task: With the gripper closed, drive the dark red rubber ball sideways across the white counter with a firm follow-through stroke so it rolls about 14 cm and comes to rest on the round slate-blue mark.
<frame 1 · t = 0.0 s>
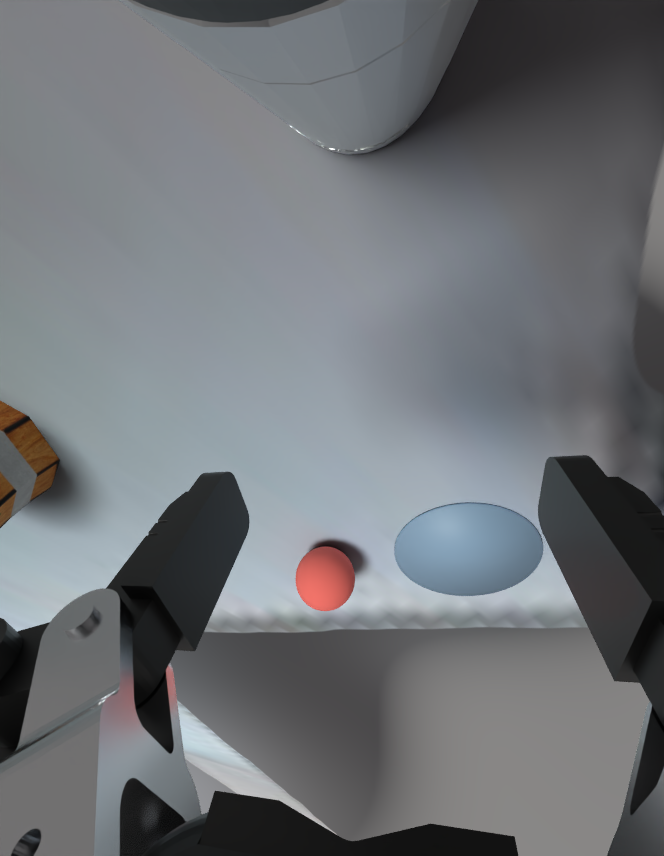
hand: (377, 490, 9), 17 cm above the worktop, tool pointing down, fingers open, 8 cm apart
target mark: (465, 553, 35), on the worktop
ball: (325, 577, 36), on the worktop
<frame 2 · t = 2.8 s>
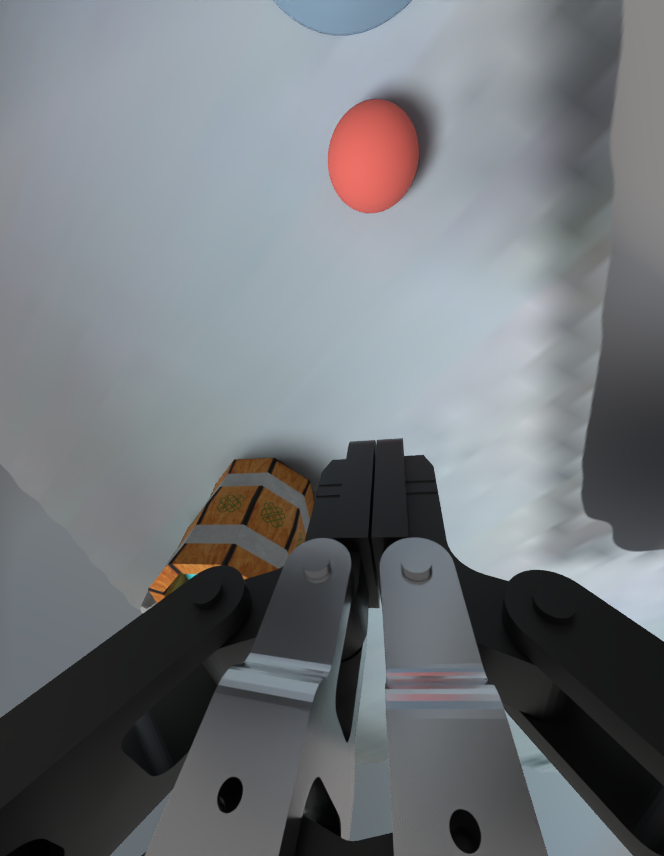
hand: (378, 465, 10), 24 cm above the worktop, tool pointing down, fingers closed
ball: (372, 160, 23), on the worktop
mug: (249, 504, 46), on the worktop
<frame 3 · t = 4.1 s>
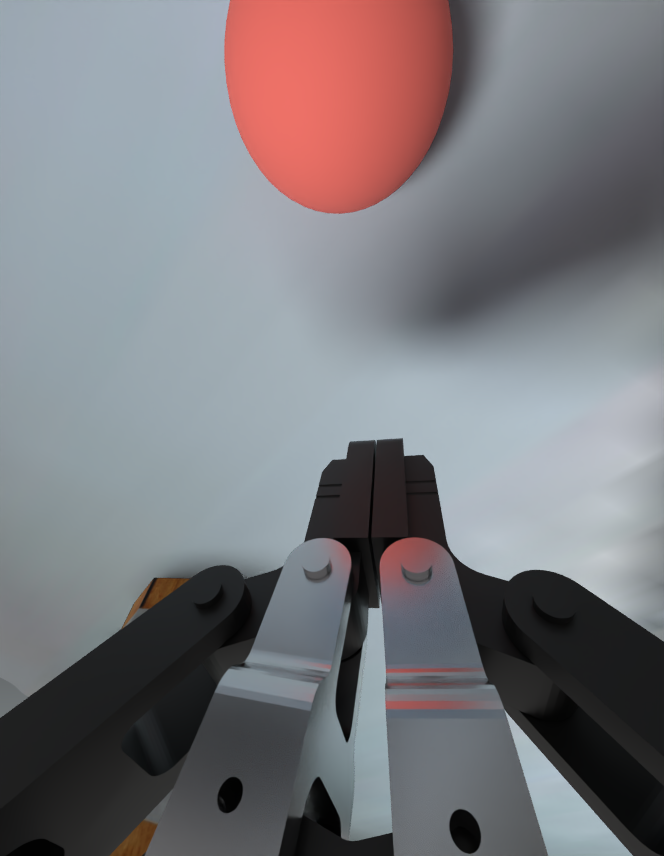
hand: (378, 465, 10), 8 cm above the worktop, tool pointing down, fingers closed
ball: (338, 86, 10), on the worktop
mug: (184, 626, 33), on the worktop
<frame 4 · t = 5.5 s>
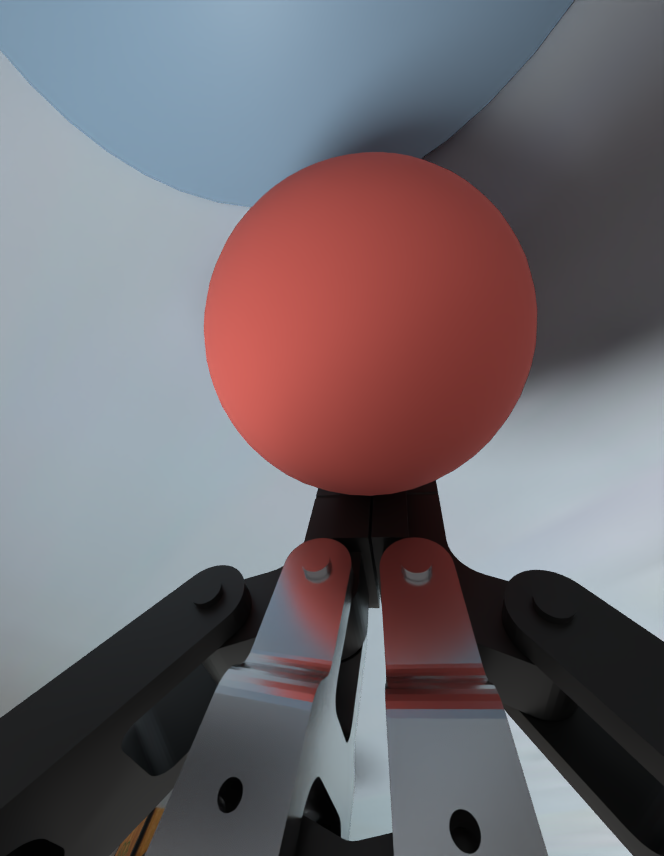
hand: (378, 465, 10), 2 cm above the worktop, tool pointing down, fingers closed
ball: (363, 342, 7), on the worktop, touching gripper
mug: (212, 754, 33), on the worktop
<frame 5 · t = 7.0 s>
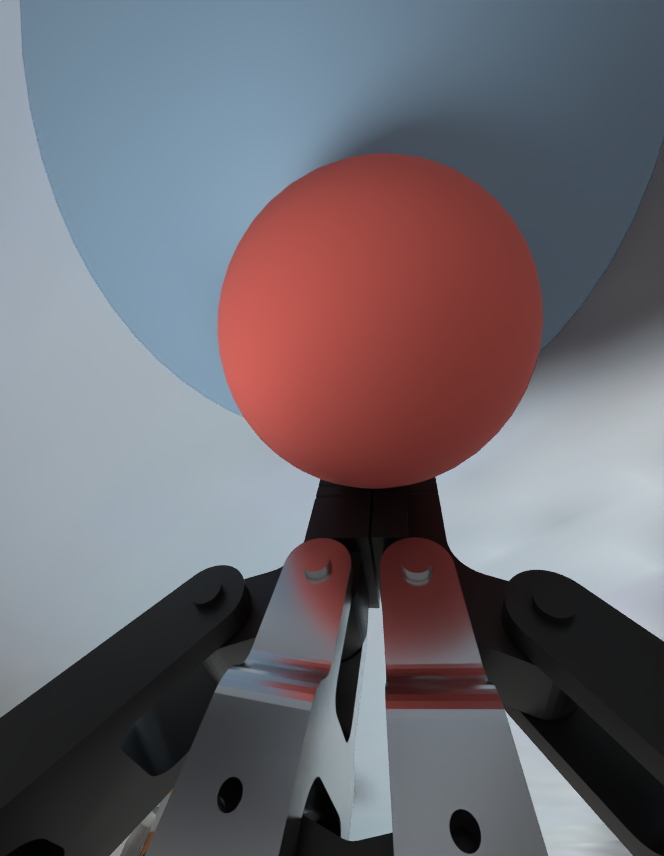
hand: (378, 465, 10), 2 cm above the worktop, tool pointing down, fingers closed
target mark: (324, 188, 8), on the worktop
ball: (371, 339, 7), on the worktop, touching gripper
mug: (218, 774, 36), on the worktop
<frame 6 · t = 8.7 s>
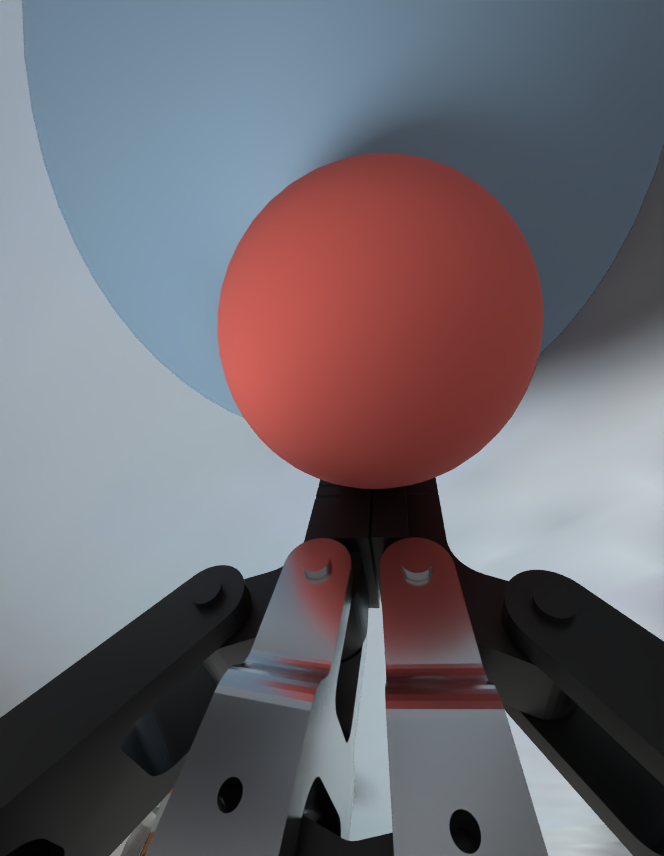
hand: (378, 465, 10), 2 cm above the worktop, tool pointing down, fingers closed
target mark: (326, 189, 8), on the worktop
ball: (371, 339, 7), on the worktop, touching gripper
mug: (218, 775, 36), on the worktop
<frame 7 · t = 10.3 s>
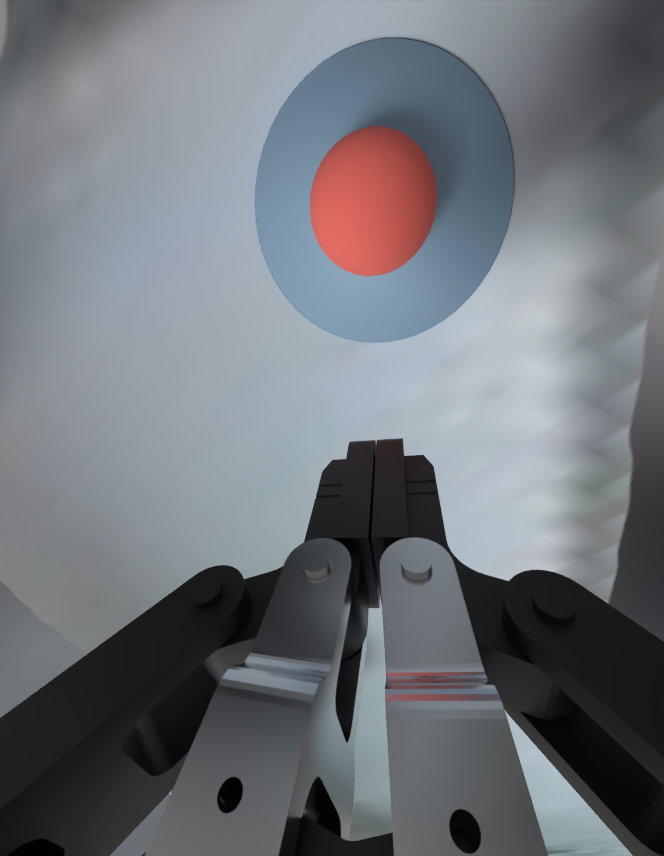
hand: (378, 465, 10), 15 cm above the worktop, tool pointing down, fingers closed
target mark: (377, 219, 20), on the worktop
ball: (372, 208, 17), on the worktop
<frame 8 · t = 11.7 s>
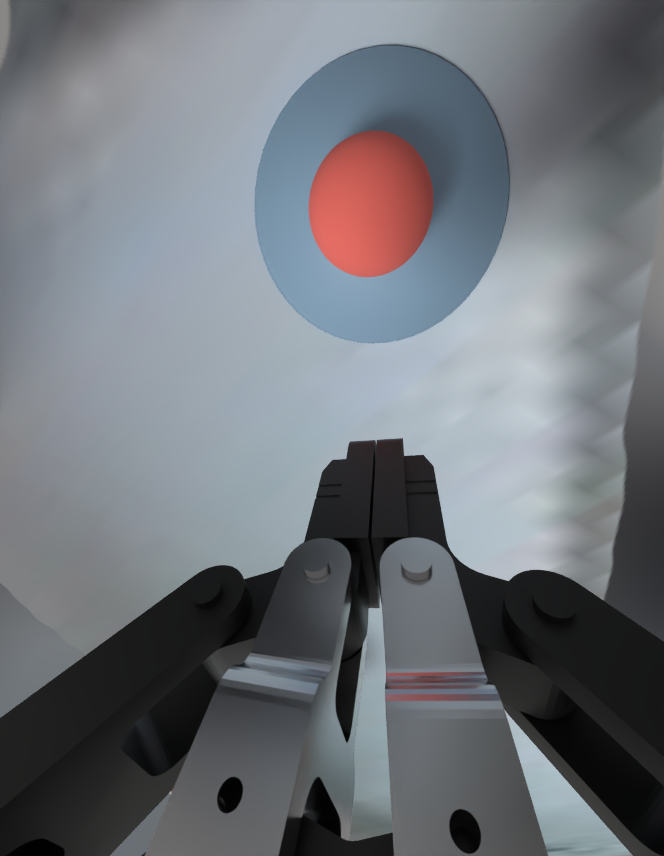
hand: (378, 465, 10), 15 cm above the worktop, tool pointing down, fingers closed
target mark: (375, 221, 20), on the worktop
ball: (369, 210, 17), on the worktop
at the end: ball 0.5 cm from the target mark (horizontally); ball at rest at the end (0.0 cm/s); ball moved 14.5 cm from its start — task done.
